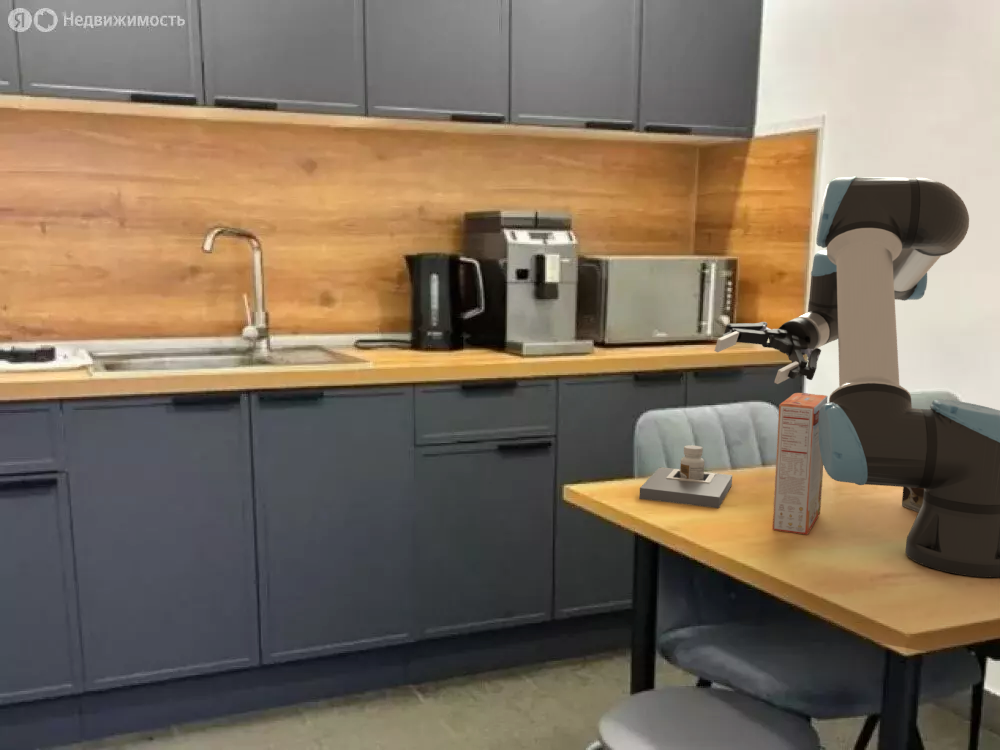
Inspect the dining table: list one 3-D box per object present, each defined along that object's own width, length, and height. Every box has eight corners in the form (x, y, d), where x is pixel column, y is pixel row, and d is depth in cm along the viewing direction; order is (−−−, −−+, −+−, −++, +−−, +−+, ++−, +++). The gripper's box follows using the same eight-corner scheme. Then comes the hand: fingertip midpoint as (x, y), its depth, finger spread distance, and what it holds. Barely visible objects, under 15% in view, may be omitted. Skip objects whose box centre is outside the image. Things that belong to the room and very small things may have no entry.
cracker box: (785, 510, 164) (793, 391, 161) (821, 515, 161) (830, 394, 159) (768, 530, 152) (777, 402, 149) (807, 536, 149) (817, 405, 146)
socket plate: (718, 508, 164) (719, 495, 164) (639, 498, 169) (639, 486, 168) (731, 485, 181) (732, 474, 180) (659, 477, 185) (659, 466, 185)
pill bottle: (676, 484, 180) (678, 444, 179) (698, 484, 181) (700, 444, 180) (683, 490, 176) (685, 449, 175) (706, 490, 176) (708, 449, 175)
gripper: (851, 378, 188) (798, 408, 174) (746, 325, 202) (689, 349, 188) (864, 345, 184) (811, 373, 170) (756, 294, 198) (698, 316, 184)
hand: (747, 361), depth 179 cm, fingers open, 13 cm apart
